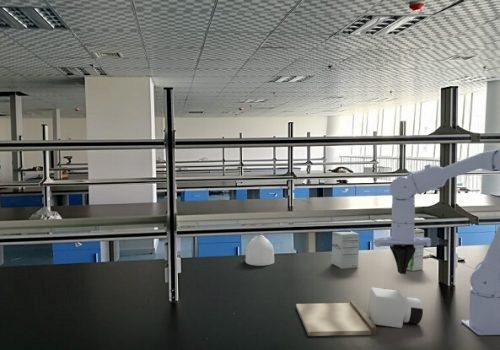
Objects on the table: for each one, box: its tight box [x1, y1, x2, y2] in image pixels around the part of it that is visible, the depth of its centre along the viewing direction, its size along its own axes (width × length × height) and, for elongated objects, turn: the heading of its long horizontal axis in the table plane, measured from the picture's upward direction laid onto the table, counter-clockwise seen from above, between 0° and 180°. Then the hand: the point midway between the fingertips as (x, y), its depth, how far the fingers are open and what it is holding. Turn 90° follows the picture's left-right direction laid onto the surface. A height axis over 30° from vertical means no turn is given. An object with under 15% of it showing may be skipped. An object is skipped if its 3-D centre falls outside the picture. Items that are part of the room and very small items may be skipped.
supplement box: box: [331, 230, 360, 270], centre depth 161 cm, size 7×7×13 cm
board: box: [295, 299, 377, 337], centre depth 110 cm, size 16×18×2 cm
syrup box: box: [406, 228, 425, 272], centre depth 157 cm, size 6×6×14 cm
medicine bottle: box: [367, 287, 424, 329], centre depth 109 cm, size 7×7×12 cm
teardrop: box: [245, 234, 275, 267], centre depth 166 cm, size 11×11×12 cm
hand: (401, 272), depth 116 cm, fingers closed
